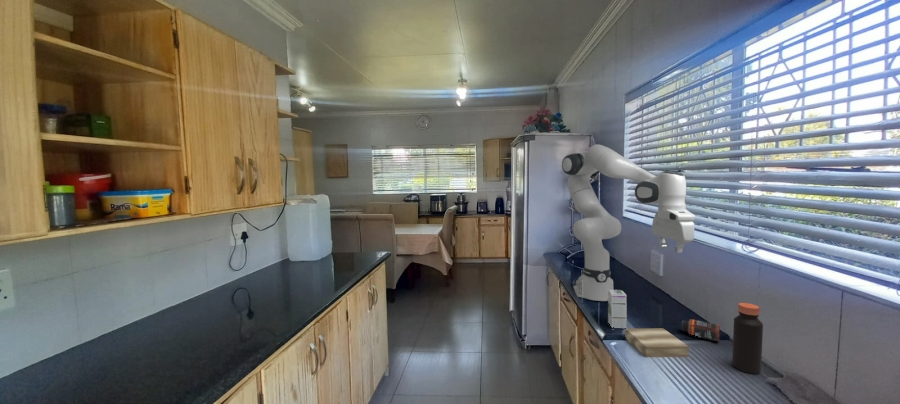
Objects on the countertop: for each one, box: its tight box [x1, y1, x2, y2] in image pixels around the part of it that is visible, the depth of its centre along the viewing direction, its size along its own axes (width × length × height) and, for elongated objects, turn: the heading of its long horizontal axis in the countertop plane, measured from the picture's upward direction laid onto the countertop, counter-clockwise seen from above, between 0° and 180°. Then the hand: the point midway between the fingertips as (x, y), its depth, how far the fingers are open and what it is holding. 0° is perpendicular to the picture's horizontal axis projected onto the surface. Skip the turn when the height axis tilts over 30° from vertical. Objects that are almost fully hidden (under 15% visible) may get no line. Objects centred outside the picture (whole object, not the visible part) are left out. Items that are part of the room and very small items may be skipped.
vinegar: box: [731, 302, 764, 375], centre depth 105 cm, size 7×7×20 cm
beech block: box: [624, 327, 690, 358], centre depth 120 cm, size 14×14×4 cm
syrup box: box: [607, 289, 628, 329], centre depth 136 cm, size 6×6×14 cm
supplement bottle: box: [681, 319, 721, 342], centre depth 127 cm, size 6×6×11 cm
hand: (670, 249), depth 130 cm, fingers open, 8 cm apart
